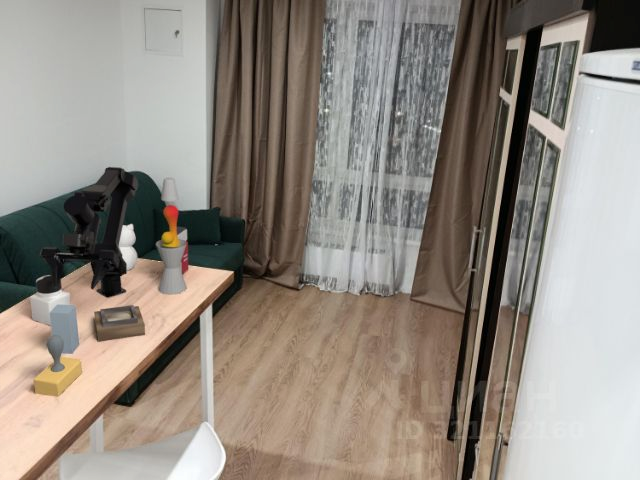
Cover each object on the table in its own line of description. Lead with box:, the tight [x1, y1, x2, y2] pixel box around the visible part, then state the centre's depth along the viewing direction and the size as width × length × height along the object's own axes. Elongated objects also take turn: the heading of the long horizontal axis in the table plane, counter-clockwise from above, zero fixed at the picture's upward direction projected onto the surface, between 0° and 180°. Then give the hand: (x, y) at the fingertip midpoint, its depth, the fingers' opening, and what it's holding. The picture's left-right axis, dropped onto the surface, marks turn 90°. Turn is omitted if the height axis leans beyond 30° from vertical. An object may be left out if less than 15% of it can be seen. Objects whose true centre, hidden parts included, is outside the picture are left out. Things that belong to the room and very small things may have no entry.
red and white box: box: [164, 226, 189, 275], centre depth 192 cm, size 11×4×15 cm, turn 168°
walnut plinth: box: [93, 304, 146, 343], centre depth 159 cm, size 12×12×4 cm
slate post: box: [50, 304, 80, 355], centre depth 146 cm, size 4×4×11 cm
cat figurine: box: [119, 223, 138, 272], centre depth 195 cm, size 9×12×15 cm
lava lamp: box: [155, 177, 188, 296], centre depth 179 cm, size 9×9×35 cm
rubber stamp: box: [33, 334, 83, 397], centre depth 132 cm, size 10×6×12 cm, turn 171°
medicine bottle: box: [29, 274, 72, 327], centre depth 161 cm, size 7×7×12 cm
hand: (73, 288), depth 151 cm, fingers open, 9 cm apart
